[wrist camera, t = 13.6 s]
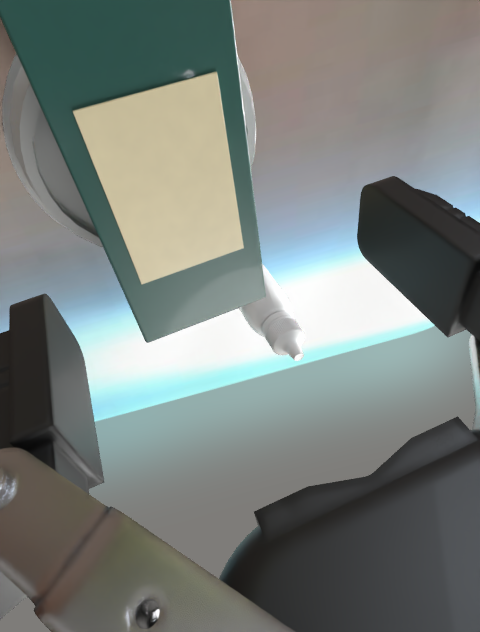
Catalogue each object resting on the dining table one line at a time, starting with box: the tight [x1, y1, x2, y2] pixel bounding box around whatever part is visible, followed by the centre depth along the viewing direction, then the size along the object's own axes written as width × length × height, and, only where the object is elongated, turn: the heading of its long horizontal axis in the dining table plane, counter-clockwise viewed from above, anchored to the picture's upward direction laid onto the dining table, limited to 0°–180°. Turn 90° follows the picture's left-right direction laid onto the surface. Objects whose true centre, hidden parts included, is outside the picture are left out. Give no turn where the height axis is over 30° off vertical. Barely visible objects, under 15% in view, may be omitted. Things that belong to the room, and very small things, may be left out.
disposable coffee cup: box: [2, 54, 256, 247], centre depth 20 cm, size 10×10×12 cm
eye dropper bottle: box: [239, 264, 305, 361], centre depth 32 cm, size 4×6×12 cm
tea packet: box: [0, 0, 266, 343], centre depth 14 cm, size 12×5×3 cm, turn 7°
